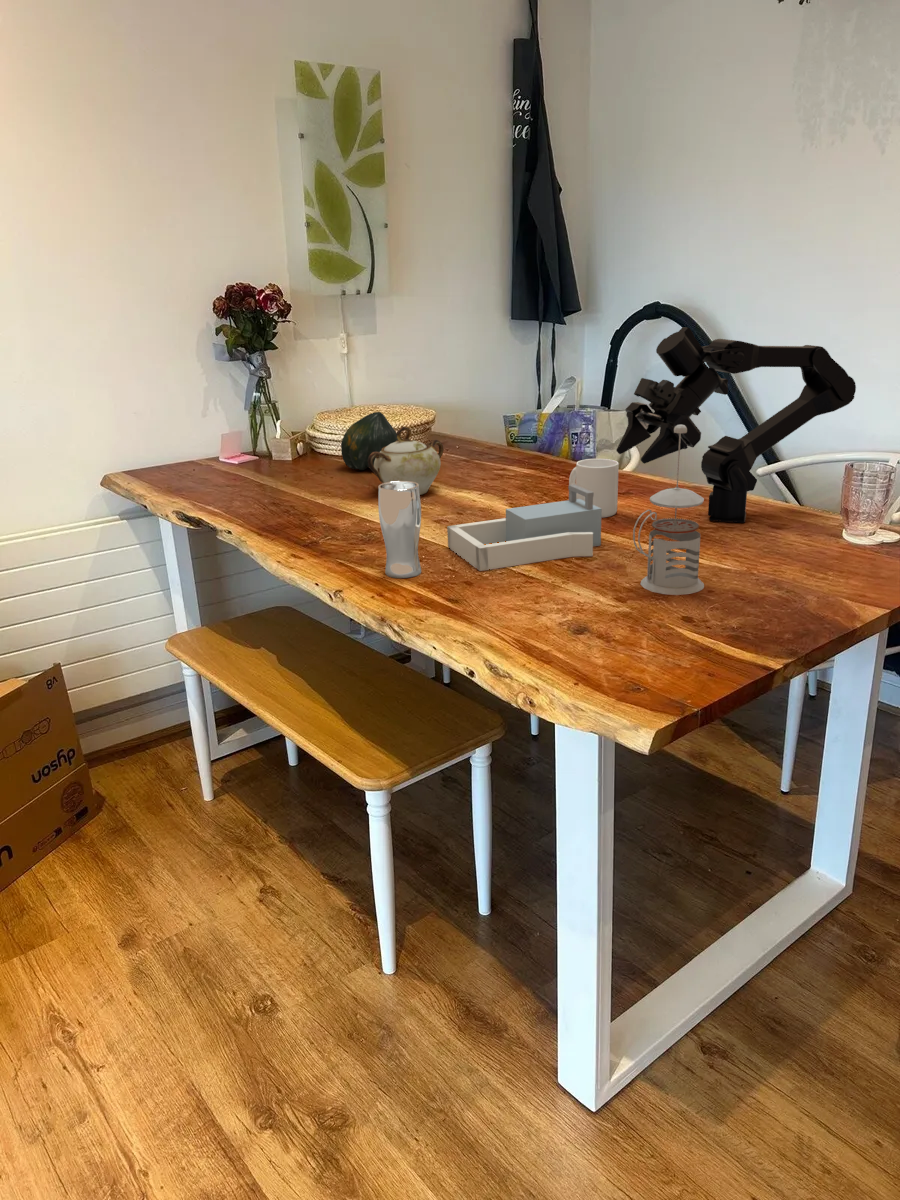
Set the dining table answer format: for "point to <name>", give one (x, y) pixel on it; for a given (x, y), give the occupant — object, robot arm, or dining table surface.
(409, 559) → the beer glass
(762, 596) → the dining table surface
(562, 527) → the box with loop handle
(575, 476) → the mug
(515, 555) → the bay
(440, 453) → the sugar bowl
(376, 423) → the squash
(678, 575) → the french press
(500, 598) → the dining table surface
